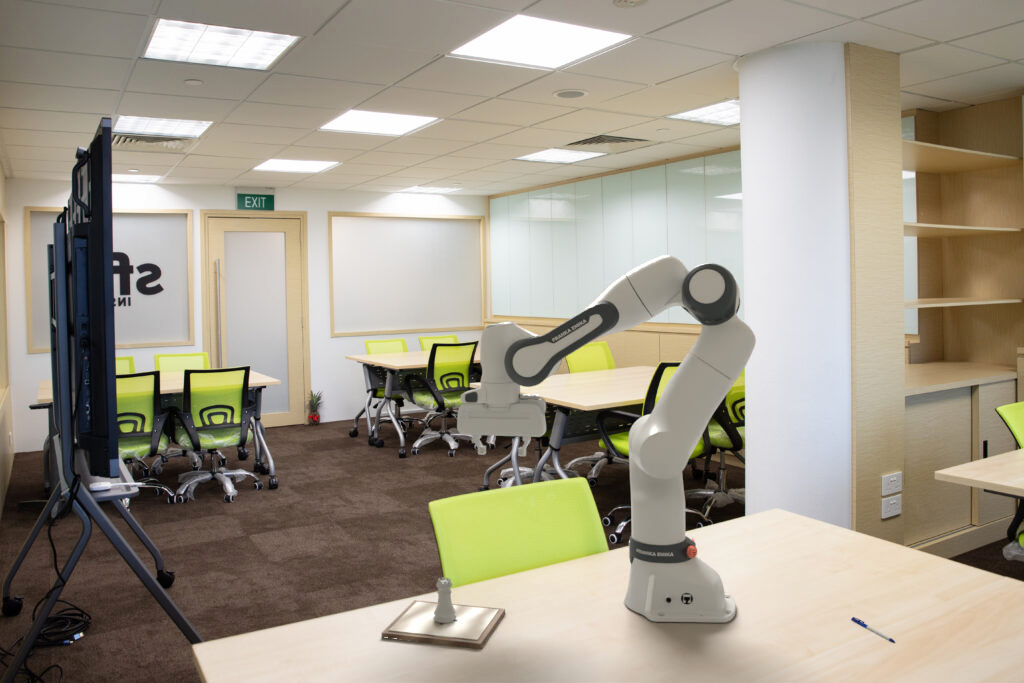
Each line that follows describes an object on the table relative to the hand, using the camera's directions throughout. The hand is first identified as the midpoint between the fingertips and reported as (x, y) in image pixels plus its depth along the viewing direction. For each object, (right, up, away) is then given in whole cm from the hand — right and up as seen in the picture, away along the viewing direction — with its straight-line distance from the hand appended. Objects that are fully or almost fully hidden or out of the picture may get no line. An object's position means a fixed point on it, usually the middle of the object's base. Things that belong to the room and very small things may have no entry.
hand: (502, 455), depth 171 cm
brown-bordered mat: (-11, -31, -21) cm, 39 cm away
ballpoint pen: (+71, -30, -27) cm, 81 cm away
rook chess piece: (-11, -30, -21) cm, 38 cm away
